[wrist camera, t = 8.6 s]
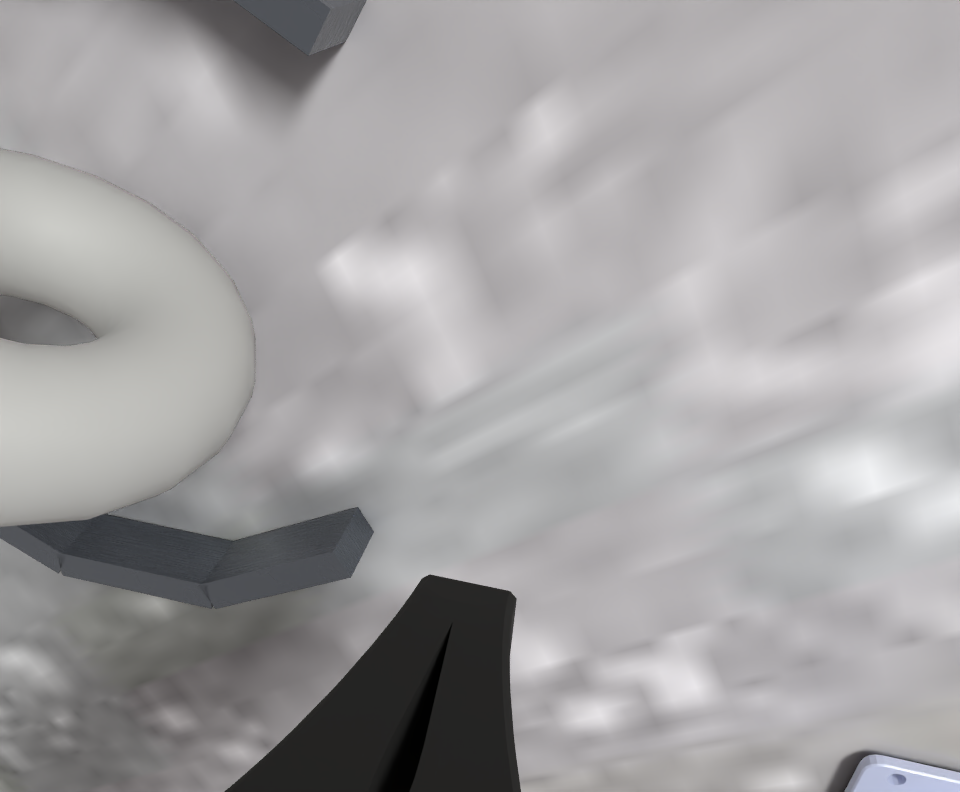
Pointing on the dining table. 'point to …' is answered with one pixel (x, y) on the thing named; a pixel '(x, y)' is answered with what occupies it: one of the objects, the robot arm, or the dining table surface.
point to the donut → (111, 348)
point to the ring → (194, 557)
